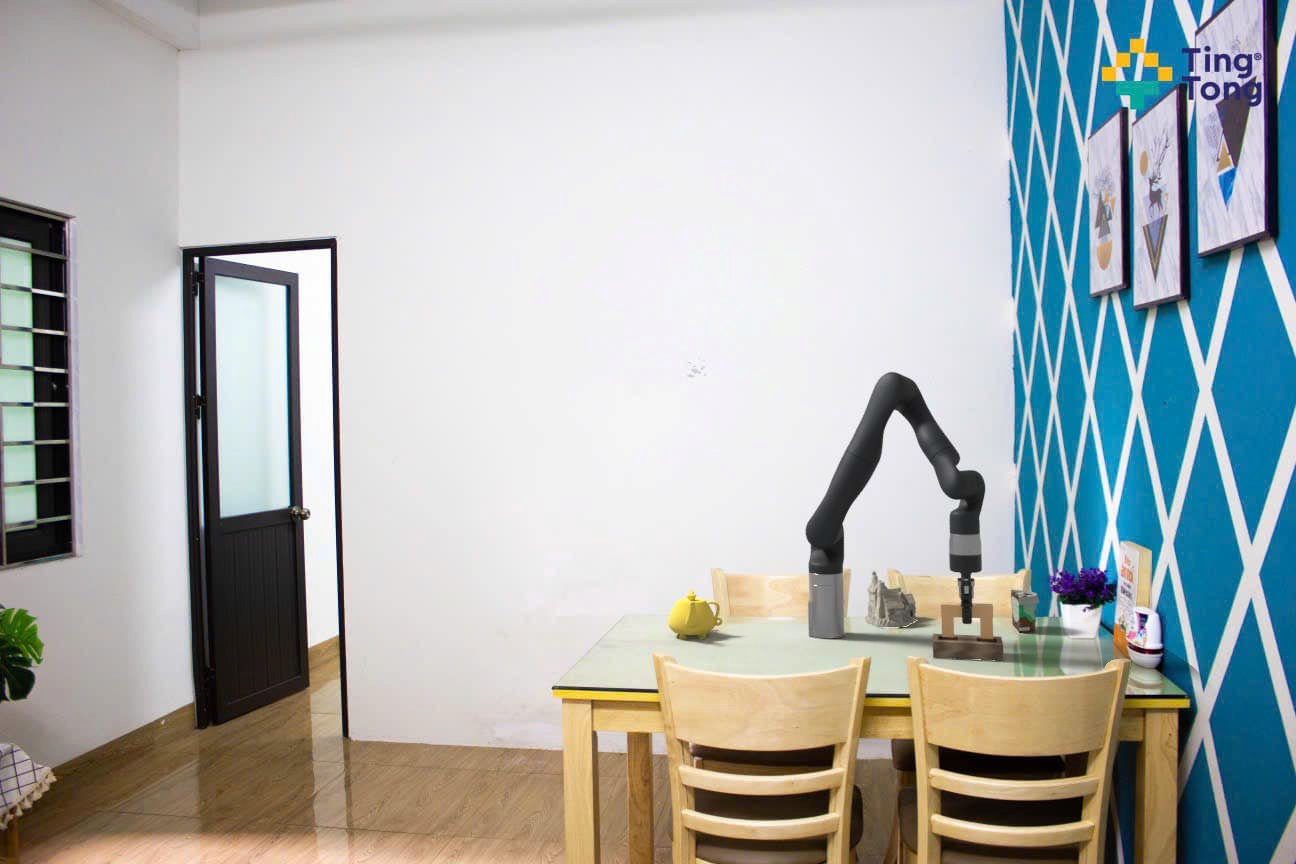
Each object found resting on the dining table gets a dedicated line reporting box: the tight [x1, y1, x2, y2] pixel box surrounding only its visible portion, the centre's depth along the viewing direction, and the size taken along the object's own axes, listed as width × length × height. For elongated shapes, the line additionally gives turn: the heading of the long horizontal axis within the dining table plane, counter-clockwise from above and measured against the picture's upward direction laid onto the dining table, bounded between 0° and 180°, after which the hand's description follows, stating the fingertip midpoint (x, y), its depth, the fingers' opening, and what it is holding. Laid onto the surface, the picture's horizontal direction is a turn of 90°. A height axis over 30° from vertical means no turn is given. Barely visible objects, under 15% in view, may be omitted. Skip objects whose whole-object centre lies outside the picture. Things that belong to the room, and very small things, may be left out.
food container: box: [1010, 589, 1040, 634], centre depth 252 cm, size 12×6×10 cm, turn 168°
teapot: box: [668, 588, 723, 640], centre depth 255 cm, size 20×15×12 cm
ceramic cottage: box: [864, 570, 919, 628], centre depth 266 cm, size 16×16×15 cm
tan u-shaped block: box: [940, 601, 994, 639], centre depth 226 cm, size 12×3×8 cm, turn 72°
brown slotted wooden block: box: [932, 633, 1004, 662], centre depth 226 cm, size 16×9×4 cm, turn 72°
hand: (967, 621), depth 226 cm, fingers closed on tan u-shaped block, 3 cm apart
